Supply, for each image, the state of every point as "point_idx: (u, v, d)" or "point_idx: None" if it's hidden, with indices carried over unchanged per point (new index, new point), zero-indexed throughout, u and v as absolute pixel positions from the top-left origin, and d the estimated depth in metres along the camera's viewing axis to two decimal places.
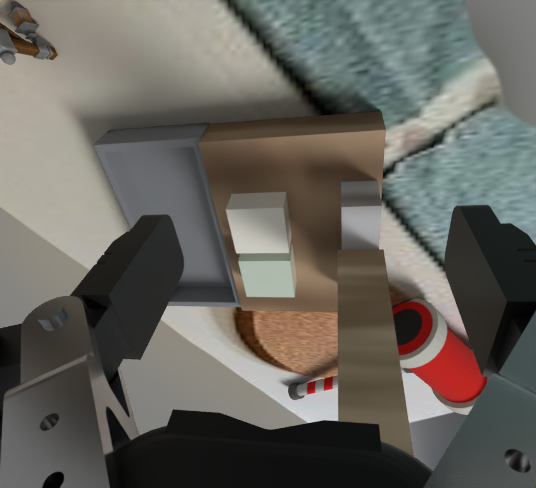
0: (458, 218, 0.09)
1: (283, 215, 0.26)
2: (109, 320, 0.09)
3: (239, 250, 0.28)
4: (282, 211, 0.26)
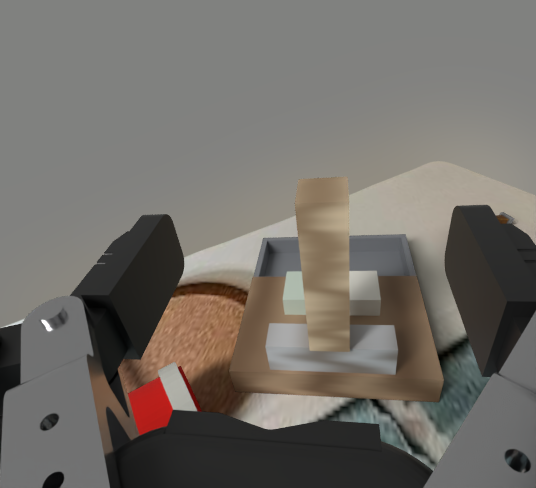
0: (458, 218, 0.09)
1: (373, 299, 0.34)
2: (109, 320, 0.09)
3: None
4: (377, 299, 0.34)
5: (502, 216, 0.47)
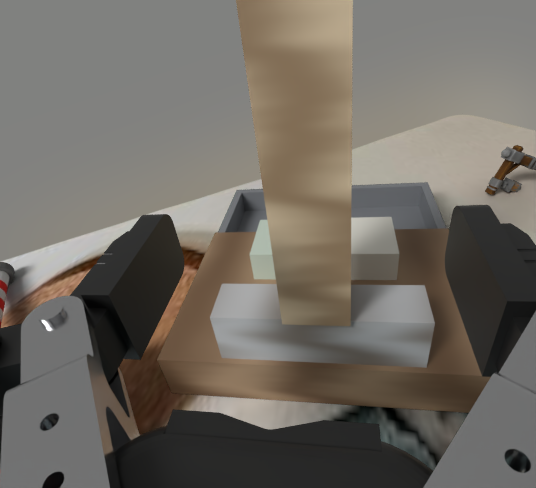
0: (458, 218, 0.09)
1: (387, 253, 0.22)
2: (109, 320, 0.09)
3: None
4: (393, 252, 0.22)
5: None
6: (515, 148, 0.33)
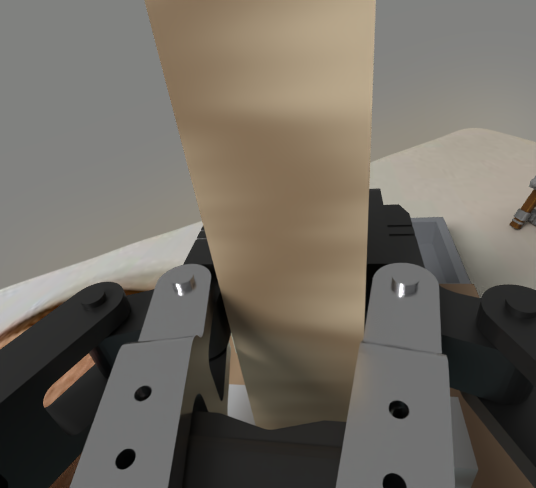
0: None
1: None
2: None
3: None
4: None
5: None
6: None
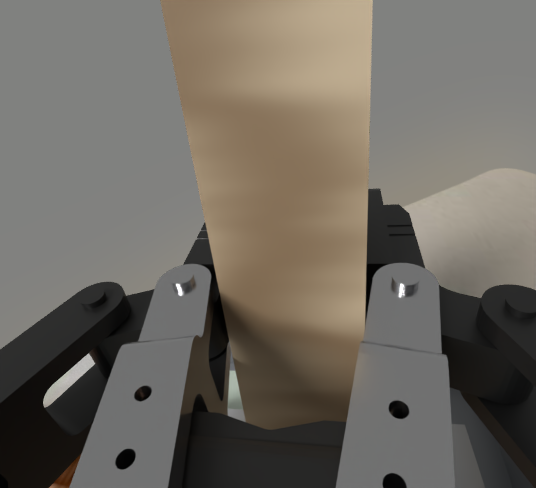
0: None
1: None
2: None
3: None
4: None
5: None
6: None
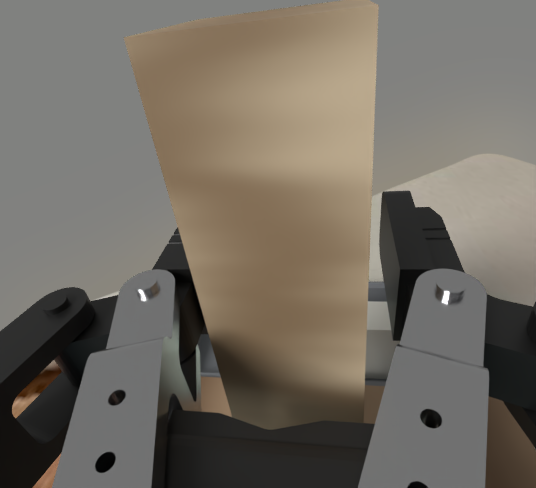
0: (383, 202, 0.10)
1: None
2: (193, 294, 0.09)
3: None
4: None
5: None
6: None
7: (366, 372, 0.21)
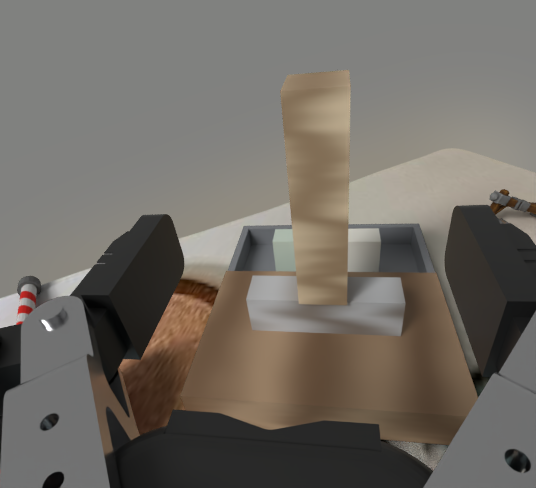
0: (458, 218, 0.09)
1: (371, 229, 0.33)
2: (109, 320, 0.09)
3: None
4: (375, 229, 0.33)
5: None
6: (502, 192, 0.36)
7: None
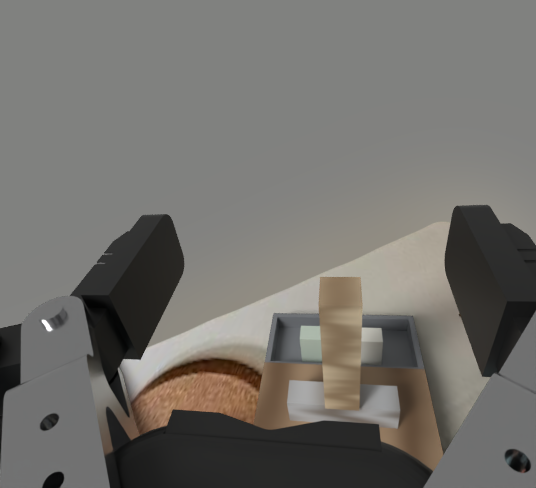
0: (458, 218, 0.09)
1: (375, 328, 0.43)
2: (109, 320, 0.09)
3: None
4: (378, 328, 0.43)
5: None
6: None
7: (362, 361, 0.44)
